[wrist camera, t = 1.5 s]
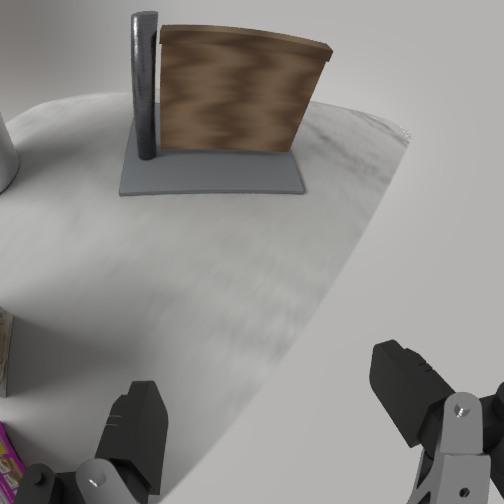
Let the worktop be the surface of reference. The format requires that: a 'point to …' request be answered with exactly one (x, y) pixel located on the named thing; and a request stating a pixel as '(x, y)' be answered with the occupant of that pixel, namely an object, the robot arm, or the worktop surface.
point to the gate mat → (207, 170)
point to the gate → (235, 87)
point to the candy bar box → (9, 469)
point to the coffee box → (4, 347)
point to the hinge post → (144, 81)
